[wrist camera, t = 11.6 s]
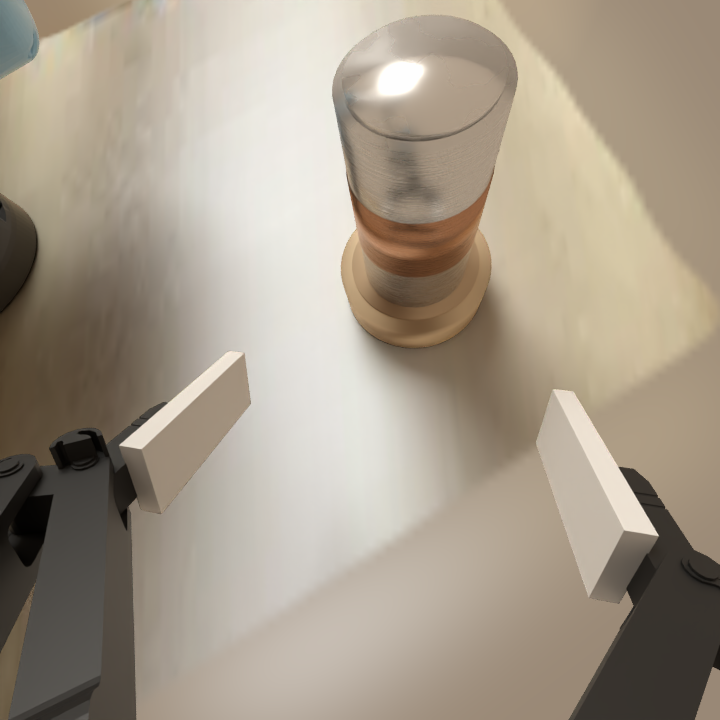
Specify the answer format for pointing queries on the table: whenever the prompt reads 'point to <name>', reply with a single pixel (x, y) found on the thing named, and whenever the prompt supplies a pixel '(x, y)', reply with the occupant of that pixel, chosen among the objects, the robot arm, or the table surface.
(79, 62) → the table surface
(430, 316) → the stand
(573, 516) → the robot arm
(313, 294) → the table surface
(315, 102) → the table surface
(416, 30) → the can
